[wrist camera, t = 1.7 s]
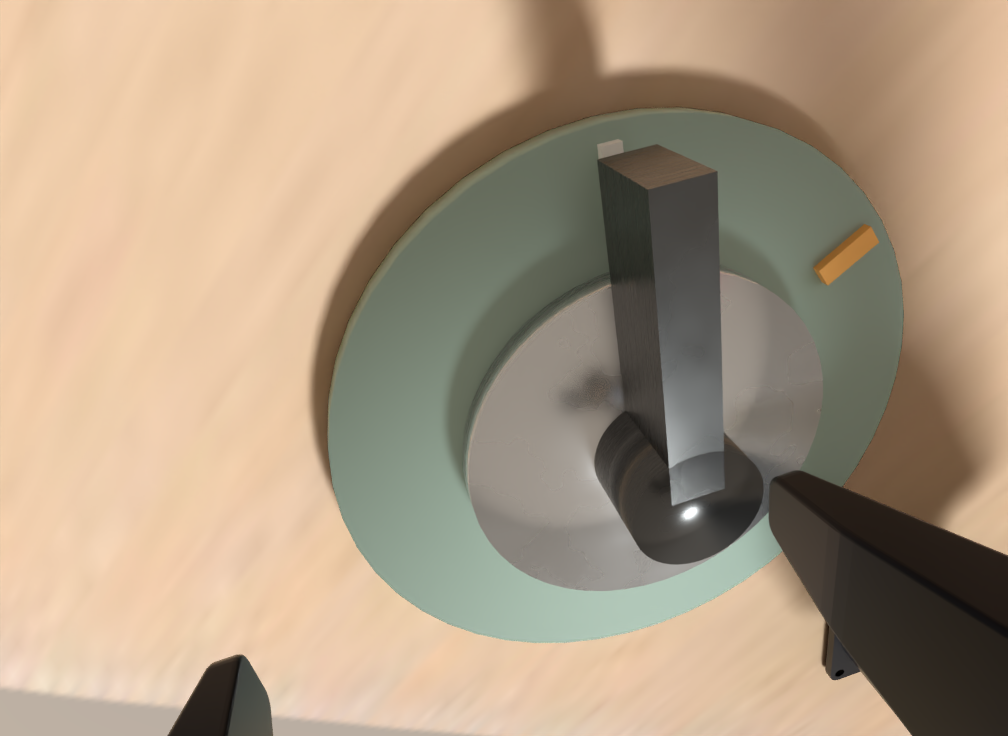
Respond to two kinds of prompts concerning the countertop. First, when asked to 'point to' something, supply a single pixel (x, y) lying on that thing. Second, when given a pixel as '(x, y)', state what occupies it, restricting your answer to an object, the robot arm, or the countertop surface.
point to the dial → (642, 398)
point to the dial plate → (533, 285)
